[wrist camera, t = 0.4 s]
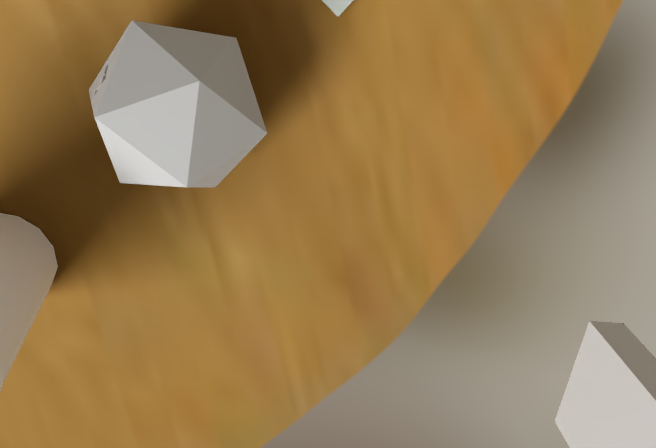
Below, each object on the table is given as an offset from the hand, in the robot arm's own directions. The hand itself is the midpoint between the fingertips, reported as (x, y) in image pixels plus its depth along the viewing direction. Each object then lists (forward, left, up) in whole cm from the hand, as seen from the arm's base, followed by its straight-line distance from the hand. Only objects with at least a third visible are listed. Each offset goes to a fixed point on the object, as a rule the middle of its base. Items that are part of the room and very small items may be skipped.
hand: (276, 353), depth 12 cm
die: (-5, -4, -24) cm, 24 cm away
